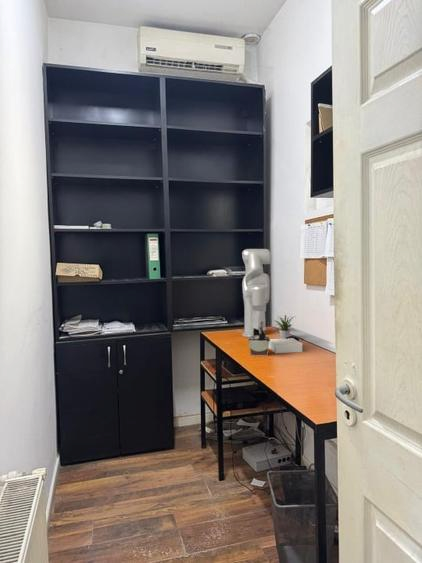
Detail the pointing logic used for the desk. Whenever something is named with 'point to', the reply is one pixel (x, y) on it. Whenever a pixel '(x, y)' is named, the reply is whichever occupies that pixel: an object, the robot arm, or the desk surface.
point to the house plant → (284, 327)
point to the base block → (285, 345)
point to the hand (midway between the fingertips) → (259, 338)
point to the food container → (258, 346)
